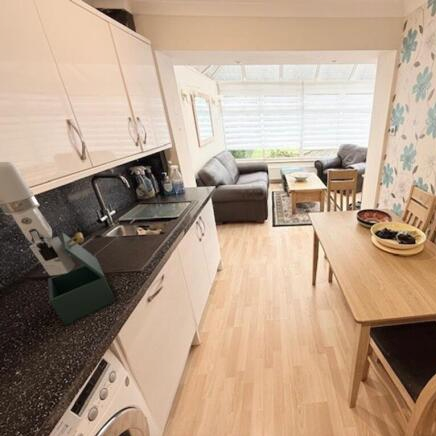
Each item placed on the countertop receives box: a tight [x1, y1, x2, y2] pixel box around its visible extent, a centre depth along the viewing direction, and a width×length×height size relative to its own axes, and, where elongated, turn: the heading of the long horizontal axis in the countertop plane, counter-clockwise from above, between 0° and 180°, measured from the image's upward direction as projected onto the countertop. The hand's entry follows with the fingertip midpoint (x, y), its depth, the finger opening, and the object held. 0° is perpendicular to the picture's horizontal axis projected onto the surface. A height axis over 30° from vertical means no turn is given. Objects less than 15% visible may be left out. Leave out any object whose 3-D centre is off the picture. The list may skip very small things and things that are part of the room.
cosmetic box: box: [29, 236, 76, 276], centre depth 79 cm, size 6×4×12 cm
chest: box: [47, 264, 116, 326], centre depth 89 cm, size 15×17×11 cm
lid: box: [60, 232, 105, 278], centre depth 87 cm, size 16×17×5 cm
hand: (51, 254), depth 78 cm, fingers closed on cosmetic box, 6 cm apart
